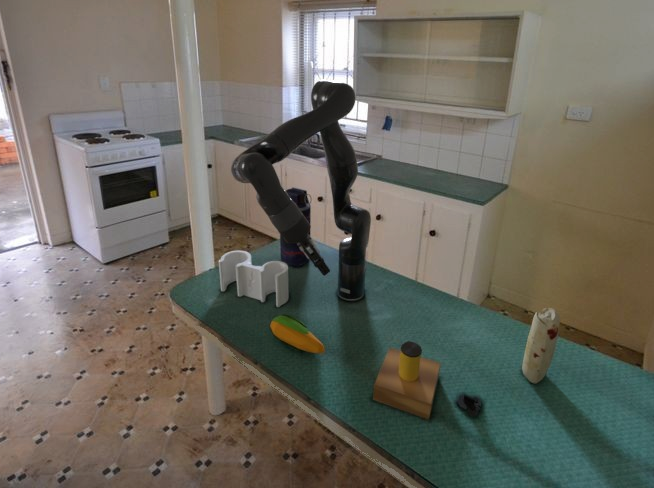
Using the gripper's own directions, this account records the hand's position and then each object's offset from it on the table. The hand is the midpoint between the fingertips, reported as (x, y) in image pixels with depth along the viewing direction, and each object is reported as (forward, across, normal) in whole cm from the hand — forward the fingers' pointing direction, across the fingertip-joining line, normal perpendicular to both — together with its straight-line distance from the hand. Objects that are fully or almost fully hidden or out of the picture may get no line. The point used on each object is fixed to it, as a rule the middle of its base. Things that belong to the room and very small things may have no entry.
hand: (322, 265), depth 107 cm
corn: (+20, +6, +19) cm, 29 cm away
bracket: (+14, +36, +25) cm, 46 cm away
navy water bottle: (+22, +54, +8) cm, 59 cm away
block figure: (+42, -26, -10) cm, 50 cm away
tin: (+30, -17, -2) cm, 35 cm away
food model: (+54, -22, -30) cm, 65 cm away
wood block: (+34, -17, 0) cm, 38 cm away
